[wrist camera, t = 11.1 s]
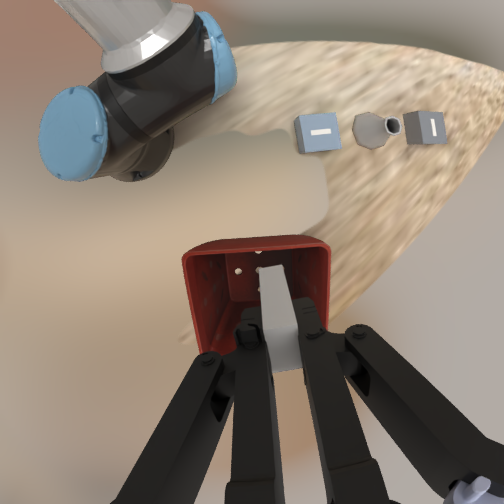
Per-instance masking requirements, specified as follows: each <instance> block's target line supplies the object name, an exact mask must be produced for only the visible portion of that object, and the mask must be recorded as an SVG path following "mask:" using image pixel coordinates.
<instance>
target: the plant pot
mask: <svg viewBox="0 0 504 504" xmlns="http://www.w3.org/2000/svg"><path fill="white" fill-rule="evenodd" d="M255 251H262V252H261V253H260V254H257V253H255ZM277 265H282V266H283V267H284V274H285V278H286V282H287V285H288V289H289V293H290V297H291V300H294V299H299V298H304V297H309V298H310V299H312V300H313V301H314V304H315V307H316V309H317V312H318V314H319V317H320V320H321V322H322V325H323V327H325V328H326V329H327V331H328V319H329V299H330V275H331V249H330V247H329V245H328V244H326V243H324V242H323V241H321V240H318V239H316V238H313V237H310V236H305V235H282V236H281V235H280V236H266V237H252V238H236V239H221V240H215V241H211V242H207V243H204V244H201V245H199V246H196V247H194V248H192V249H191V250H189V251H188V252H186V253H185V254H184V255H183V257H182V266H183V272H184V279H185V284H186V289H187V294H188V299H189V305H190V310H191V315H192V320H193V324H194V329H195V334H196V339H197V343H198V348H199V353H200V354H201V353H204V352H207V351H216V352H218V353H220V354H221V356H222V355H225V354H228V353H230V352H232V351H234V350H235V349H236V348H237V346H236V342H235V339H234V335H233V331H234V329H235V328H236V327H237V326H238V325H240V324H241V314H242V312H243V311H244V309H246V308H252V307H258V306H261V294H260V292H258V288H259V287H260V280H259V274H257V273H256V271H255V270H256V268H257V267H263V268H266V267H271V266H277ZM237 268H240V269H241V270H242V274H241V275H237V274H236V273H235V270H236V269H237Z"/></svg>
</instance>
